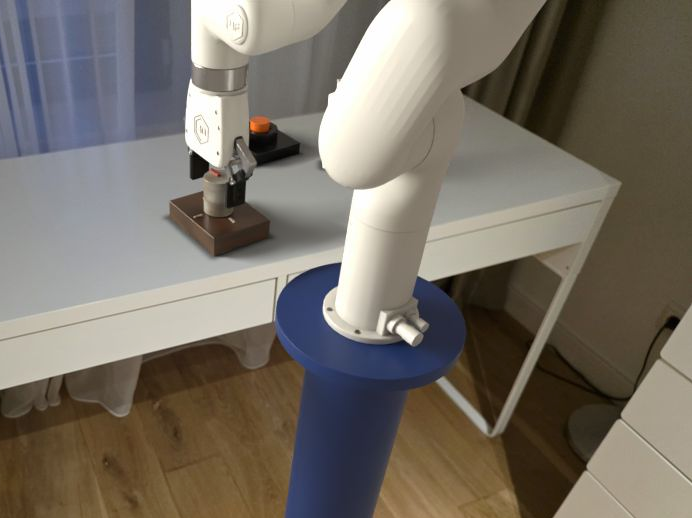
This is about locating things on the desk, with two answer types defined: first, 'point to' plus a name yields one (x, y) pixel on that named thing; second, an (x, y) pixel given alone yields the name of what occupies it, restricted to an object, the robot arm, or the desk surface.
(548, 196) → the desk surface
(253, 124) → the button
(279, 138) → the button box
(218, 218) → the panel
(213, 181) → the knob
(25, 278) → the desk surface
